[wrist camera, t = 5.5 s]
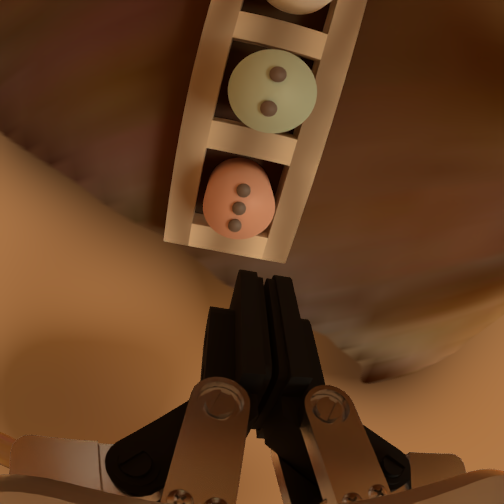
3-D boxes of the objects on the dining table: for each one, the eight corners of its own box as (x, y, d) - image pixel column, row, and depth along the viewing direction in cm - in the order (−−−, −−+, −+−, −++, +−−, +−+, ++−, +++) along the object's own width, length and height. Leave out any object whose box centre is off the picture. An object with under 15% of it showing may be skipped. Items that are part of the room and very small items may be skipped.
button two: (311, 65, 18) (327, 63, 15) (292, 130, 21) (304, 143, 17) (239, 46, 17) (239, 39, 14) (222, 114, 20) (218, 123, 16)
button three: (276, 165, 24) (284, 183, 20) (260, 220, 26) (265, 246, 23) (214, 151, 23) (210, 167, 20) (202, 208, 25) (197, 233, 22)
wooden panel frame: (368, -36, 15) (377, -42, 13) (282, 250, 28) (285, 263, 27) (239, -73, 14) (239, -83, 12) (168, 229, 27) (163, 241, 25)
